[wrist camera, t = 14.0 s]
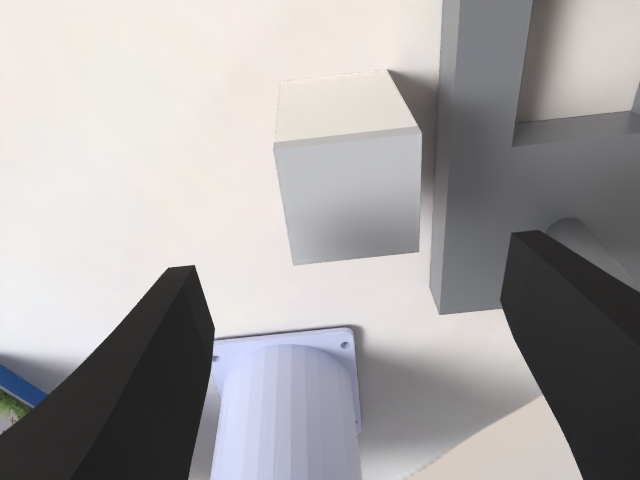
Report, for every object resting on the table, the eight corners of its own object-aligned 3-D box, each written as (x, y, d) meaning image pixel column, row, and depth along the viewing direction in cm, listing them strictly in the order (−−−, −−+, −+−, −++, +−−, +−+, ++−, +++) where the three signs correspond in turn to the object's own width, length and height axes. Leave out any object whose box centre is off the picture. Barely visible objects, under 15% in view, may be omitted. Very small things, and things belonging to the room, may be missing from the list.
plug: (388, 166, 20) (418, 252, 15) (293, 176, 20) (293, 265, 15) (386, 69, 17) (421, 133, 13) (279, 81, 18) (273, 149, 13)
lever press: (630, 265, 24) (733, 377, 18) (429, 286, 24) (470, 403, 18) (813, -240, 13) (1194, -345, 8) (451, -194, 13) (564, -263, 8)
